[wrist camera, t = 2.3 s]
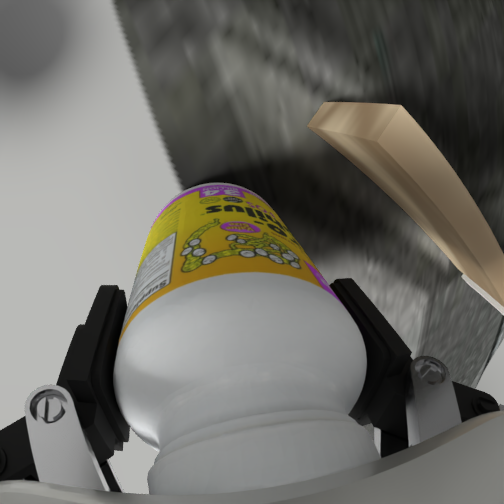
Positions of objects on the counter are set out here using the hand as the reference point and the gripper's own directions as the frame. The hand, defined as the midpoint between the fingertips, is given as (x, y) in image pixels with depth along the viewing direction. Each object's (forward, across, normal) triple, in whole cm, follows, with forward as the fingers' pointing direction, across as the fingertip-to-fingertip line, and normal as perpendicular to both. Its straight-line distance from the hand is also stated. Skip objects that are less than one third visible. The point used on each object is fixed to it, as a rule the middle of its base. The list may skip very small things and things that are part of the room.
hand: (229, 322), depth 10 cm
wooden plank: (+6, -12, -2) cm, 14 cm away
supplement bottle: (+6, 0, 0) cm, 6 cm away
